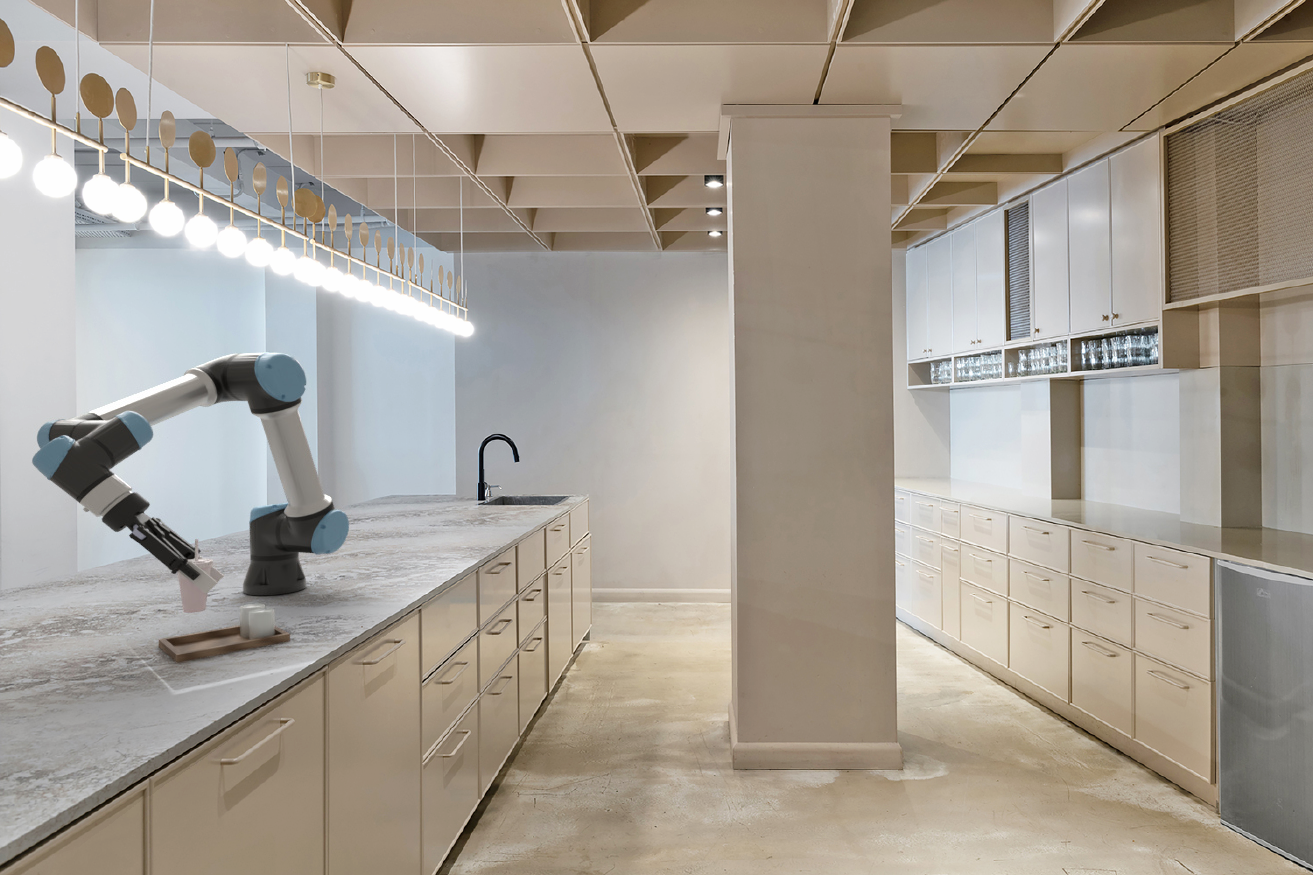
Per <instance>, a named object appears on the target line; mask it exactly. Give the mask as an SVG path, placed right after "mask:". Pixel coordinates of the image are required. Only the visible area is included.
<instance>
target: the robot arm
mask: <svg viewBox="0 0 1313 875" xmlns="http://www.w3.org/2000/svg"><path fill="white" fill-rule="evenodd" d="M305 386H307V376H306V372H305V370H304V368H303V365H301V363H300V361H298V360H297V359H296V358H295V357H294V356H291V355H289V354H287V353H283V352H274V351H268V352H264V351H263V352H248V353H242V352H240V353H232V354H228V355H224V356H221V357H218V358H215V359H213V360H210V361H207V362H205V363H202V364H200V365H197V366H195V367H192V368H190V369H187V370H186V371H185V372H184V373H183V376H181V377H178V378H176V379H172V380H170V381H167V382H165V383H163V384H159V385H157V386H154V387H152V388H148V389H147V390H144V391H141V392H139V393H136V394H133V395H130V396H128V397H125V398H122V399H119V400H116V401H114V402H112V403H109V404H106V405H104V406H101V407H99V408H96V409H93V410H91V411H88V412H86V413H83V414H79V415H77V416H74V417H71V418H68V419H63V418H62V419H60V418H58V419H55V420H50V421H47V422H45V423H44V424H42V426H40V428H39V430H38V432H37V435H36V442H37V444H38V447H39V449H38V450H37V452H36V453H35V454H34V455H33V457H32V462H31V463H32V465H33V466H34V467H35V468H36V469H37V471H38V472H40V473H41V474H42V475H43V476H44V477H45V478H46V479H47V480H48V481H51V482H52V483H53V484H55V485H56V486H57V487H59V488H60V489H61V490H62V491H64V493H66V494H67V495H69V497H71V498H73V500H75V501H77V503H79V504H80V505H82V506H83V509H82V510H83V512H85V513H89V512H90V514H93V515H94V516H95V517H97V518H100V517H101V522H102V523H103V524H105V525H106V526H107V527H109V529H110V530H112V531H113V532H116V533H118V532H119V533H120V532H121V531H123V530H124V529H126V528H127V529H129V531H130V532H131V533H130V534H128V536H129V537H130V539H132V540H133V541H135V542H136V543H138V544H139V545H141V547H142V548H143V549H145V550H146V551H147V552H149V553H150V554H151V555H153V556H154V557H155V559H156V560H158V561H159V562H160V563H162V564H163V565H164V566H165V567H167V568H168V569H169V570H170V573H171V574H172V575H176V574H178V572H180V573H181V574H182V575H183V576H185V577H186V578H187V579H188V580H190V581H191V582H192V583H193V584H195V585H196V586H197V587H198V588H200V589H201V590H202V591H203V592H204V593H206V594H207V593H209V592H210V591H211V590H212V589H213V588H215V586H216V585H218V583H219V582H220V580H222V579H223V578H224V577H225V574H224V573H222V572H221V571H219V569H217V567H215V566H213V565H212V566H211V572H210V575H208V574H207V573H206V572H205V571H203V570H202V569H201V568H200V567H198V566H197V565H196V564H195V563H194V562H192V561H189V562H188V559H195V546H193V545H192V544H190V543H189V541H187V540H185V538H183V537H182V536H180V534H178V533H177V532H176V531H174V530H173V529H172V528H171V527H169V526H168V525H167V524H165V522H163V520H161V519H160V518H159V517H154V516H153V517H150V516H149V515H147V514H146V513H145V511H147V510H148V509H149V507H150V505H151V504H150V502H149V501H148V500H147V499H146V498H144V497H143V496H142V495H141V494H140V493H139V492H135V491H133V488H132V487H131V486H130V485H129V484H128V483H126V482H125V481H124V480H123V479H122V478H121V477H119V476H118V475H117V474H115V473H114V472H113V471H112V469H113V468H115V466H117V465H119V464H120V463H121V462H123V461H125V460H126V459H128V458H129V457H130V456H132V455H133V454H135V453H136V452H138V451H141V450H142V448H143V447H145V446H146V445H147V444H148V443H150V442H151V441H152V440H153V437H154V429H153V426H154V425H157V424H160V423H162V422H164V421H166V420H169V419H171V418H172V419H173V418H174V417H176V416H179V415H181V414H183V413H185V412H188V411H190V410H193V409H195V408H198V407H202V408H204V407H205V408H208V407H212V406H214V405H216V404H219V403H220V404H221V403H224V402H247V404H248V406H249V407H248V408H249V410H250V413H251V415H254V416H256V417H258V418H259V420H260V422H261V424H262V427H263V428H262V429H263V430H264V433H265V434H264V435H265V436H266V440H267V443H268V445H269V449H270V451H271V455H272V457H273V458H272V459H273V461H274V464H275V467H276V469H277V473H278V477H279V479H280V483H281V485H282V490H283V492H284V495H285V498H286V501H287V502H283V503H275V504H274V503H273V504H266V505H259V506H254V507H252V509H251V510H250V515H249V551H250V553H249V554H250V558H249V559H250V561H249V565H248V569H247V571H246V574H245V577H244V579H243V584H242V593H243V594H245V595H251V596H275V595H283V594H290V593H294V592H295V593H296V592H299V591H302V590H304V589H305V588H307V578H306V575H305V572H304V569H303V567H302V565H301V562H300V558H299V557H300V554H299V553H303V554H314V555H317V556H318V555H330V554H333V553H334V554H335V552H337V551H338V550H340V549H341V548H342V546H343V545H344V544H345V542H346V539H347V536H348V534H349V530H350V523H349V522H350V521H349V518H348V516H347V514H346V512H344V511H342V510H341V509H335V505H334V502H333V499H332V497H331V496H329V495H327V494H325V493H324V491H323V487H322V485H321V484H322V483H321V481H320V478H319V473H318V471H317V468H316V464H315V462H314V461H315V460H314V458H313V454H312V452H311V449H310V448H311V447H310V446H309V443H308V439H307V435H306V432H305V428H304V426H303V422H302V420H301V415H300V412H299V407H300V406H301V404H302V403H303V399H302V396H303V395H304V394H305V392H306V387H305ZM132 491H133V492H132ZM201 552H202V550H201V549H200V548H199V547H198V559H205V558H204V557H203V556H201V555H200V553H201ZM179 570H180V571H179ZM207 595H208V594H207Z"/></svg>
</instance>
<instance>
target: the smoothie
mask: <svg viewBox="0 0 1313 875" xmlns="http://www.w3.org/2000/svg"><path fill="white" fill-rule="evenodd" d="M194 547H195V559H188V562H189V561H192V562H194V563H195V564H196V565H197V566H198V567H200V568H201V569H202V570H203V571H205V572H206V573H207V574H208V575H210V572H211V566H213V565H214V562H213V561H214V560H213V559H212V558H204V559H198V548H199V538H198V539H197V538H196V539H194ZM179 571H180V570H179ZM177 576H178V577H177V578H178V584H179V591H180V597H181V605H182V611H183V613H186V614H192V613H194V614H195V613H200V612H204V611H206V608H207V601H208V593H209V592H208V593H207V594H206V593H204V592H203V591H202V590H201V589H200V588H198V587H197V586H196V585H195V584H193V583H192V582H191V581H190V580H188V579H187V578H186V577H185V576H183V575H182V574H181V573H180V572H177Z"/></svg>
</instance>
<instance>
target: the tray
mask: <svg viewBox="0 0 1313 875" xmlns="http://www.w3.org/2000/svg"><path fill="white" fill-rule="evenodd" d="M290 641H291V634H290V633H289V632H287V631H285V629H284V630H283V629H282V628H280V627H278V626H277V625H275V635H274V636H269V637H263V638H258V639H253V640H249V638H243V637H240V624H239V625H234V626H228V627H223V628H217V629H211V630H206V631H205V630H204V631H199V632H198V631H197V632H195V633H194V632H193V633H186V634H183V635H182V634H181V635H176V636H170V637H163V638H158V647H159V648H160V649H161V650H162V651H163V652H164V653H165V654H166V655H168V656H169V657H170V659H172V660H173V661H174V662H175V663H183V662H188V661H194V660H198V659H204V658H209V657H214V656H220V655H223V654H225V655H226V654H230V653H234V652H240V651H244V650H251V649H255V648H256V649H257V648H260V647H266V646H271V645H275V644H281V643H282V644H283V643H286V642H290Z"/></svg>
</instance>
